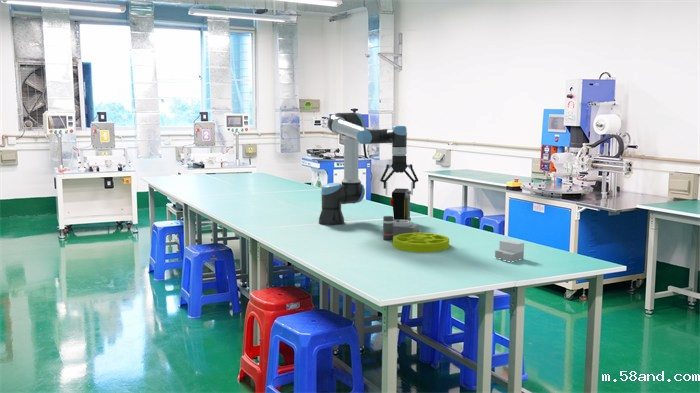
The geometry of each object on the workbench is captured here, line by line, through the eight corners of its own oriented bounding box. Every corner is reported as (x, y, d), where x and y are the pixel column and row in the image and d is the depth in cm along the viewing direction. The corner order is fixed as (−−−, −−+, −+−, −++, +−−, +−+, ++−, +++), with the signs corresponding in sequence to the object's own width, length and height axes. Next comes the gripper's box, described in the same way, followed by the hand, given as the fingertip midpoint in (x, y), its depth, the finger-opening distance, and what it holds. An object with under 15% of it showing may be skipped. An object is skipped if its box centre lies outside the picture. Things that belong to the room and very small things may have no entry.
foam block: (492, 260, 286) (493, 242, 285) (505, 256, 293) (505, 239, 292) (511, 264, 279) (511, 246, 278) (523, 260, 287) (524, 242, 285)
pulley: (383, 243, 320) (383, 233, 320) (430, 238, 331) (431, 229, 331) (409, 255, 295) (410, 244, 294) (460, 249, 306) (460, 239, 305)
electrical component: (407, 227, 360) (408, 192, 357) (390, 226, 362) (390, 192, 359) (411, 221, 377) (411, 188, 374) (394, 221, 379) (394, 188, 376)
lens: (381, 240, 326) (381, 217, 324) (385, 238, 331) (385, 215, 329) (391, 240, 324) (391, 218, 322) (394, 238, 329) (395, 216, 327)
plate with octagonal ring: (384, 234, 339) (384, 221, 338) (391, 231, 349) (391, 218, 348) (412, 237, 333) (413, 224, 332) (419, 233, 343) (419, 220, 342)
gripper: (375, 155, 330) (375, 195, 333) (423, 155, 329) (423, 195, 332) (375, 154, 337) (375, 193, 340) (422, 154, 337) (421, 193, 339)
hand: (399, 194), depth 336 cm, fingers open, 13 cm apart
